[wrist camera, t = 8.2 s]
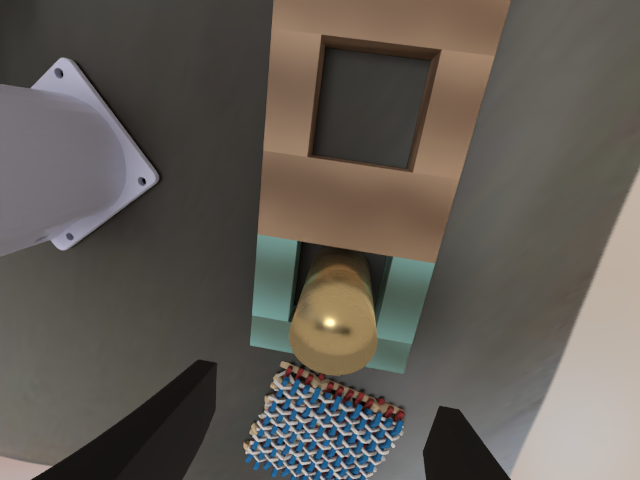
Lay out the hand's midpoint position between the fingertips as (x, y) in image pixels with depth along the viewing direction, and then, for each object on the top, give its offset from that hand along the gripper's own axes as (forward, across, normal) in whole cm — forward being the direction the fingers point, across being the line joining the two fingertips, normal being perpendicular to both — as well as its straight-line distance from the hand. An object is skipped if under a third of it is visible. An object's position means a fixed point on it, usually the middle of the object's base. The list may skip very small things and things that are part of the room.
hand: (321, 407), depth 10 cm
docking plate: (+10, 0, -5) cm, 11 cm away
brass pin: (+10, 0, 0) cm, 10 cm away
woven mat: (+11, -1, +14) cm, 18 cm away
